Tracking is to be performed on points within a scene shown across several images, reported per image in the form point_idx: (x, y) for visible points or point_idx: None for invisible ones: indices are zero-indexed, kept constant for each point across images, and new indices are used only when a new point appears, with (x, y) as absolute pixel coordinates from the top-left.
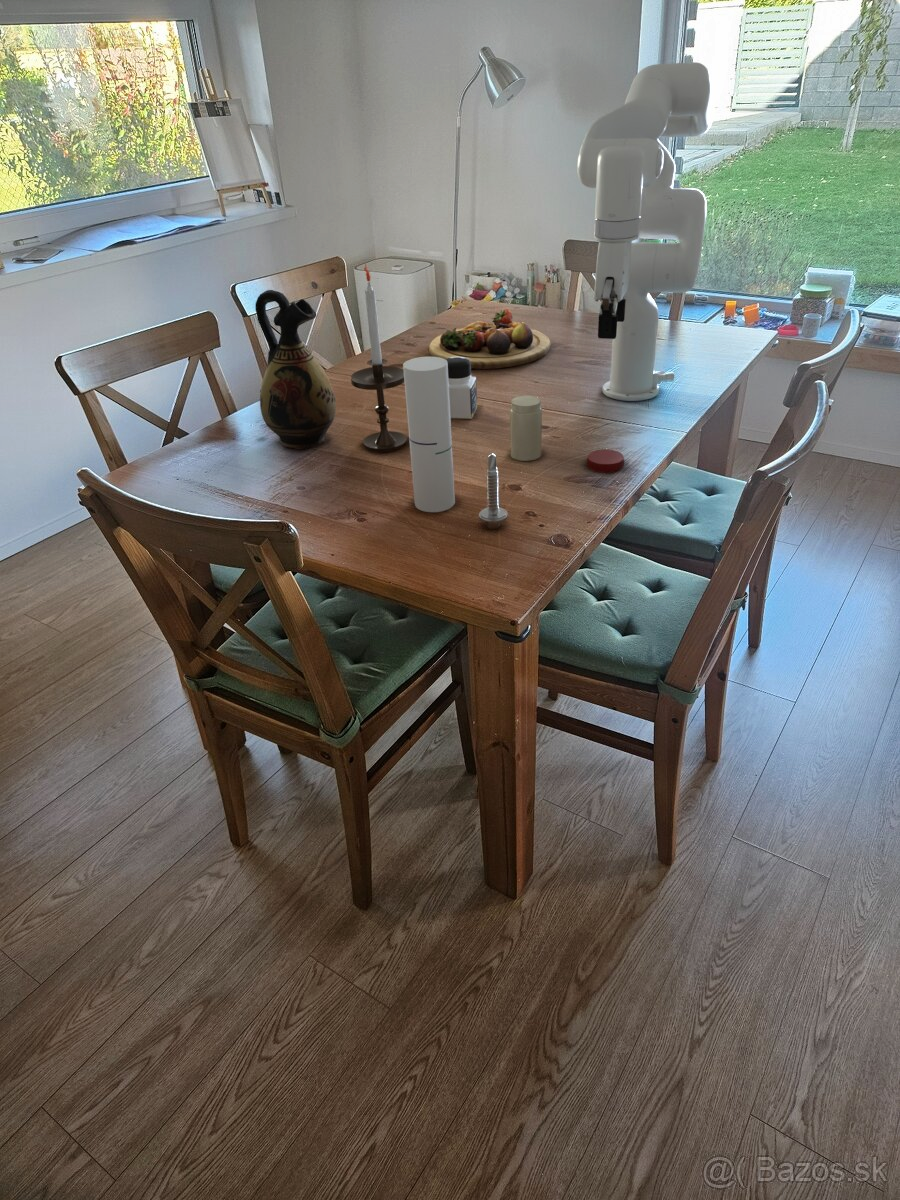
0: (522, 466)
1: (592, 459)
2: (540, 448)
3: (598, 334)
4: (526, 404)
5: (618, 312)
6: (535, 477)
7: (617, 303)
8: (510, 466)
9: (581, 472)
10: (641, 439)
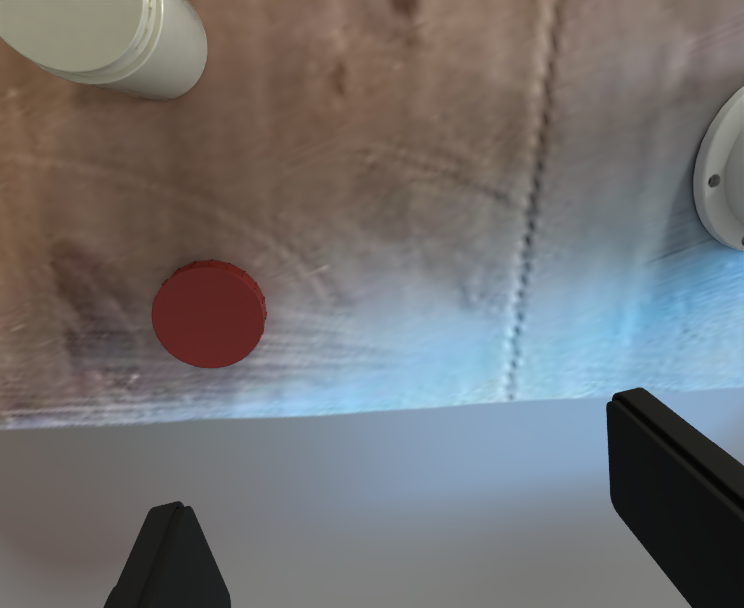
0: None
1: (167, 294)
2: (154, 98)
3: (144, 528)
4: (8, 12)
5: (656, 528)
6: (11, 157)
7: (725, 589)
8: None
9: (132, 271)
10: (425, 328)
